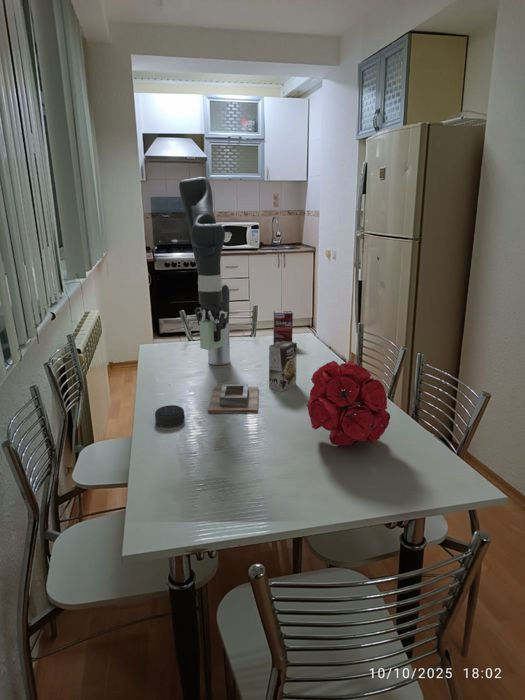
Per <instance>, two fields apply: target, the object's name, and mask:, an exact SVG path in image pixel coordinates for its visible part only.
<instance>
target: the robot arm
mask: <svg viewBox="0 0 525 700" xmlns="http://www.w3.org/2000/svg"><path fill="white" fill-rule="evenodd" d="M178 188H179V189H178V190H179V194H180V199H181V202H182V206H183V209H184V213H185V217H186V222H187V225H188V231H189V237H190V242H191V246H192V248H191V249H192V251H193V256H194V259H195V264H196V270H197V275H198V276H197V285H198V286H197V290H198V303H199V304H200V307H196V308H194V309H193V310H194V314H195V317H196V321H197V324H198V326H199V321H203V320H204V321H205V320H211V322H212V324H213V328H214V342H219V341H220V340H221V330H222V329H224V346H221V347H218V348H215V349H212V350H207V358H208V364H209V365H212V366H224V365H228V364H229V363H230V362H231V354H230V353H231V351H230V350H231V348H230V347H231V346H230V299H231V298H230V296H231V295H230V288H229V286H228V285H227V284H223V282H222V276H221V275H222V273H221V257H222V251H223V247H224V242H225V239H226V231H225V228H224V227H223V226H222V224H219V223H217V221H216V218H215V214H214V201H213V199H214V197H213V191H212V186H211V183H210V180H209V179H208V177H205V176H199V177H193V178H187V179H181V180H180V181H179V186H178ZM215 320H217V321H215ZM216 324H218V327H217V325H216Z"/></svg>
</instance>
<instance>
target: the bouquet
mask: <svg viewBox="0 0 525 700" xmlns="http://www.w3.org/2000/svg"><path fill="white" fill-rule="evenodd" d="M371 377H372V374H371V373H370V371H368V370H367V369H366V368H365V367H362V366H360V365H358V363H356V362H352V361H346V362H343V363H341V364H338V361H335V360H332V361H329V362H327V363H325V364H324V365H322V366H320V367H318V369H317V370H316V371H314V372H313V374H312V376H311V380H310V381H311V382H312V384H313V386H312V387H311V389H310V392H309V398H308V401H307V403H306V407H307V412H308V417H309V418H310V424H311V428H312V429H313V430H318V429H320V428H323V429H324V430H326V431H329V432H330V434H329V439H328V440H329V441H330V443H331V444H332V445H335V446H348V445H349V446H351V445H353V444H354V443H355V442H358V443H359V442H365V441H366V442H369V443H375V442H376V441H378V440H380V439H381V437H382V436H383V434H384V433H385V431H386V429H387V428H388V426H389V424H390V419H391V414H390V413H389V412H388V411H387V409H388V407H387V406H388V397H387V392H386V389H385V385H384V384H383V383H382V381H380V380H379V379H375V378H374V377H372V378H371Z"/></svg>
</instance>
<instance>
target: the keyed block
mask: <svg viewBox="0 0 525 700" xmlns="http://www.w3.org/2000/svg"><path fill="white" fill-rule="evenodd" d="M215 321H217V320H215ZM216 325H217V327H218V324H216ZM198 326H199V344H200V345H199V347H200V349H202V350H205V351H208V350H212V349H215V348H218V347H221V346H224V329H222V330H221V340H220V341H219V342H214V328H213V324H212V322H211V320H205V321H204V320H203V321H202V320H201V321H199V325H198Z"/></svg>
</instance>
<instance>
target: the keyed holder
mask: <svg viewBox="0 0 525 700" xmlns="http://www.w3.org/2000/svg"><path fill="white" fill-rule="evenodd" d="M258 407H259V386H249V384H248V383H247V384H246V383H245V384H243V383H242V384H241V383H239V384H233V383H231V384H226V383H225V384H222V386H214V387H213V390H212V394H211V398H210V400H209V404H208V408H207V413H208V414H218V413H219V414H226V413H227V414H231V413H232V414H234V413H235V414H238V413H239V414H240V413H241V414H243V413H247V412H248V413H247V414H249V413H253V414H254V413H255V414H256V413H258V411H259V409H258Z"/></svg>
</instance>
